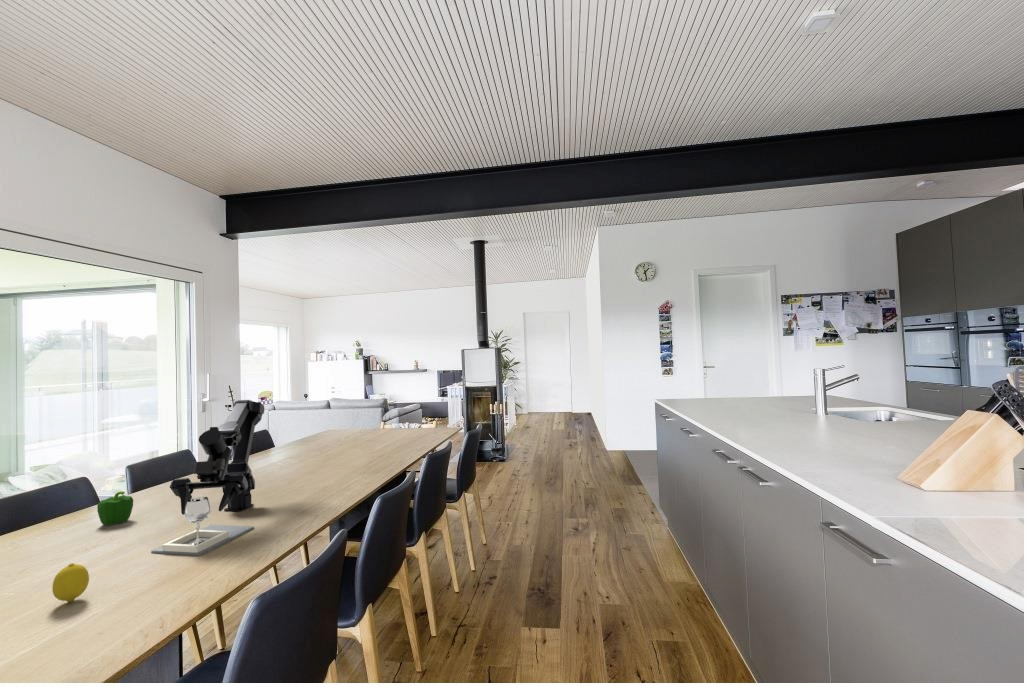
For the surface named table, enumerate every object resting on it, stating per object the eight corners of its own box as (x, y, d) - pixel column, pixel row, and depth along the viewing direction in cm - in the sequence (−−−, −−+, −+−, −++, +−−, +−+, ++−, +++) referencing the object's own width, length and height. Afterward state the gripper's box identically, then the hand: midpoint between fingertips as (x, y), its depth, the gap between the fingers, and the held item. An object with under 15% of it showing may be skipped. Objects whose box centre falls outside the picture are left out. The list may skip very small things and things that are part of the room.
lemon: (68, 596, 97) (68, 558, 98) (95, 594, 98) (96, 557, 98) (44, 610, 92) (44, 570, 92) (73, 608, 92) (73, 568, 93)
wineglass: (210, 544, 123) (210, 499, 123) (184, 549, 119) (184, 504, 120) (210, 537, 127) (210, 494, 128) (185, 542, 124) (185, 498, 124)
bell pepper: (91, 526, 141) (92, 494, 141) (122, 517, 148) (123, 487, 149) (107, 529, 138) (107, 496, 138) (138, 520, 145) (138, 489, 146)
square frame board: (151, 552, 119) (151, 544, 119) (210, 526, 138) (210, 519, 138) (200, 555, 117) (200, 547, 117) (254, 528, 135) (254, 521, 135)
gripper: (172, 451, 130) (151, 501, 119) (244, 446, 134) (230, 495, 123) (185, 471, 137) (167, 520, 126) (253, 466, 142) (240, 514, 131)
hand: (201, 512), depth 126 cm, fingers open, 9 cm apart
